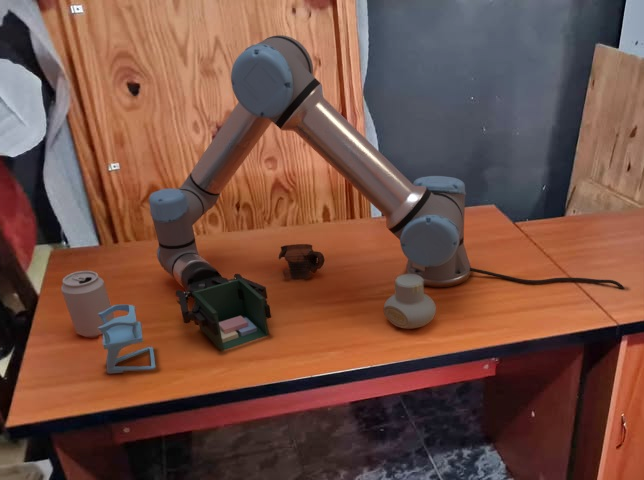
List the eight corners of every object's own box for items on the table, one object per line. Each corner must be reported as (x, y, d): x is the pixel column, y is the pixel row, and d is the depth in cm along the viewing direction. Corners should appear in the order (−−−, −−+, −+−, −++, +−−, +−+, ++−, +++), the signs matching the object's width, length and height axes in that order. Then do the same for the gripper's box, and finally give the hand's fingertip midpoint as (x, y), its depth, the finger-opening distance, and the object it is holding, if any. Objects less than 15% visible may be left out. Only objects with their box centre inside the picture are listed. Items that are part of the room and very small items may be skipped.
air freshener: (378, 320, 144) (375, 277, 139) (405, 305, 149) (404, 264, 144) (415, 338, 138) (414, 295, 133) (442, 323, 144) (442, 281, 138)
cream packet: (212, 332, 137) (211, 328, 137) (228, 327, 139) (227, 323, 138) (222, 343, 134) (221, 339, 133) (238, 337, 136) (238, 333, 135)
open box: (200, 331, 139) (191, 292, 133) (247, 316, 144) (241, 278, 139) (221, 353, 132) (213, 313, 127) (270, 337, 137) (264, 298, 132)
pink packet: (224, 334, 135) (223, 329, 134) (217, 327, 137) (217, 322, 136) (248, 326, 138) (247, 322, 137) (241, 319, 140) (240, 315, 139)
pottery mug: (272, 282, 158) (268, 246, 157) (295, 282, 167) (291, 248, 166) (317, 277, 154) (313, 240, 153) (338, 278, 163) (334, 243, 162)
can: (101, 341, 134) (84, 288, 127) (68, 336, 135) (49, 283, 129) (124, 322, 140) (109, 270, 134) (92, 318, 141) (75, 266, 135)
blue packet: (231, 326, 139) (230, 322, 139) (247, 321, 141) (246, 317, 140) (241, 336, 136) (240, 332, 136) (257, 331, 138) (256, 327, 137)
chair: (106, 359, 129) (89, 304, 123) (153, 350, 132) (138, 295, 126) (107, 381, 124) (89, 324, 117) (156, 371, 127) (141, 315, 120)
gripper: (250, 278, 153) (297, 319, 139) (148, 308, 141) (188, 356, 127) (245, 248, 149) (293, 286, 135) (139, 276, 137) (180, 321, 123)
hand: (242, 320), depth 131 cm, fingers closed on open box, 10 cm apart
